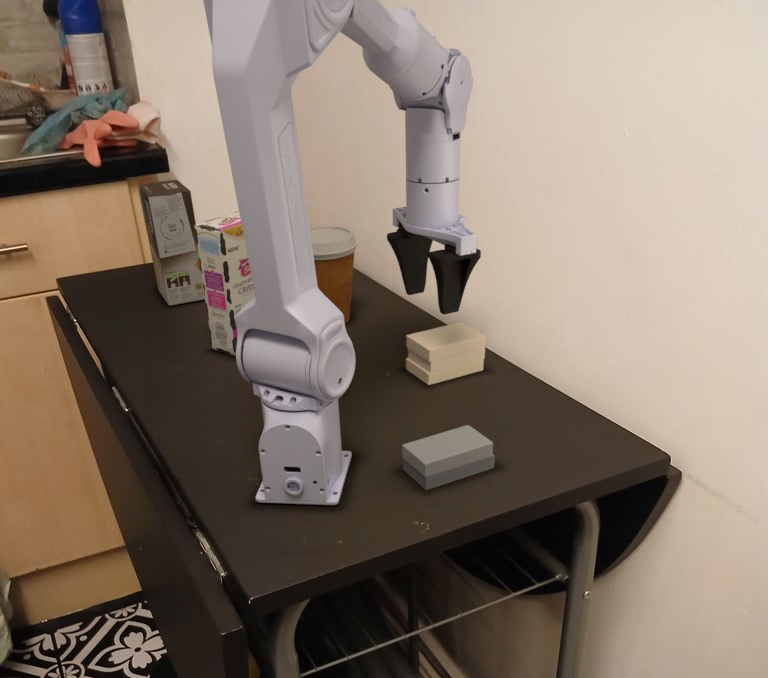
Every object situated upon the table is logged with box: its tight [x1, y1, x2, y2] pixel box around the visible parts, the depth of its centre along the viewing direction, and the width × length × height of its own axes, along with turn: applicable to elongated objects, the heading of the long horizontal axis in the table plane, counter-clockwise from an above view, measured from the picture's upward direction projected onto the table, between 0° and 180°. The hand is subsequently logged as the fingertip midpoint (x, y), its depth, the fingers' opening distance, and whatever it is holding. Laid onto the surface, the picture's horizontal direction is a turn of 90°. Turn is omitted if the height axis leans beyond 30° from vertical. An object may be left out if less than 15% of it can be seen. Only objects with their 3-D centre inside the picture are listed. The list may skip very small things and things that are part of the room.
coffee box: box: [137, 179, 205, 307], centre depth 120 cm, size 9×6×16 cm
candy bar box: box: [194, 210, 255, 357], centre depth 104 cm, size 11×5×16 cm, turn 146°
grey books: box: [401, 424, 496, 491], centre depth 78 cm, size 8×4×3 cm, turn 119°
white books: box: [404, 347, 486, 386], centre depth 98 cm, size 8×6×3 cm
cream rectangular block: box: [405, 321, 487, 362], centre depth 96 cm, size 8×6×2 cm
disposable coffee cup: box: [309, 225, 358, 324], centre depth 110 cm, size 10×10×12 cm
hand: (431, 302), depth 92 cm, fingers open, 7 cm apart
